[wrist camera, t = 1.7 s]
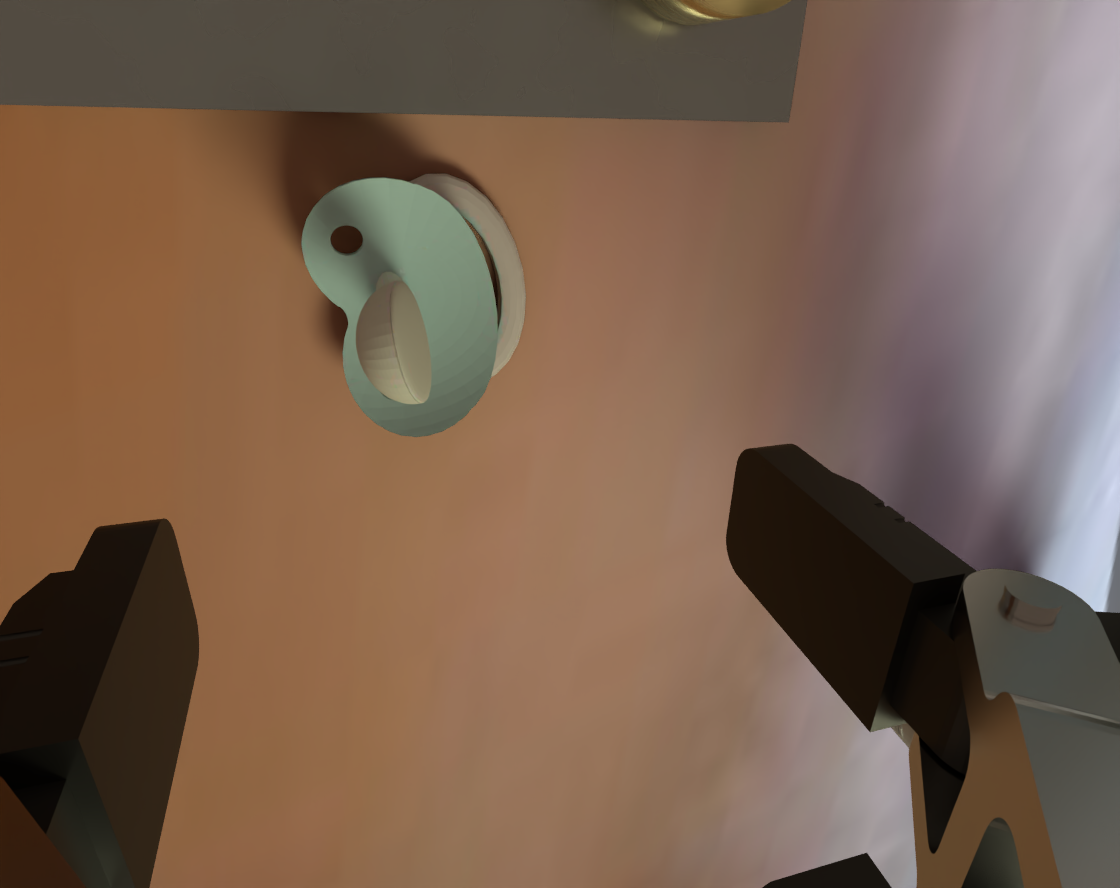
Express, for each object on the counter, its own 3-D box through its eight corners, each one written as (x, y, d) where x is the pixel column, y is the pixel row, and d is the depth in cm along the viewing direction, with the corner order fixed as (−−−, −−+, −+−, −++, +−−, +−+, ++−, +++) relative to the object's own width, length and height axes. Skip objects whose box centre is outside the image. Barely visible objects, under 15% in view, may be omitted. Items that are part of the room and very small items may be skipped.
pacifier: (491, 140, 21) (282, 188, 20) (556, 155, 15) (273, 222, 14) (539, 370, 24) (363, 422, 23) (606, 448, 19) (381, 521, 18)
